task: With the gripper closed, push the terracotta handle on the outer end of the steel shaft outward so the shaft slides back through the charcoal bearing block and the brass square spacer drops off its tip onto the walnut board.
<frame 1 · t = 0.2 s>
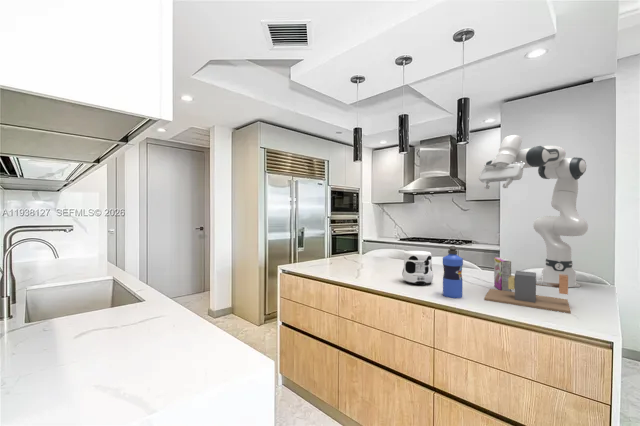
hand: (495, 188, 149), 54 cm above the table, tool tilted 30°, fingers open, 8 cm apart
water bottle: (452, 296, 153), on the table
milk container: (417, 283, 179), on the table
shaft: (533, 280, 142), point 10 cm above the table, slide at 0.0 cm, touching spacer
spacer: (511, 288, 147), point 5 cm above the table, touching shaft
bearing stand: (525, 300, 144), on the table
candy bar box: (502, 289, 164), on the table
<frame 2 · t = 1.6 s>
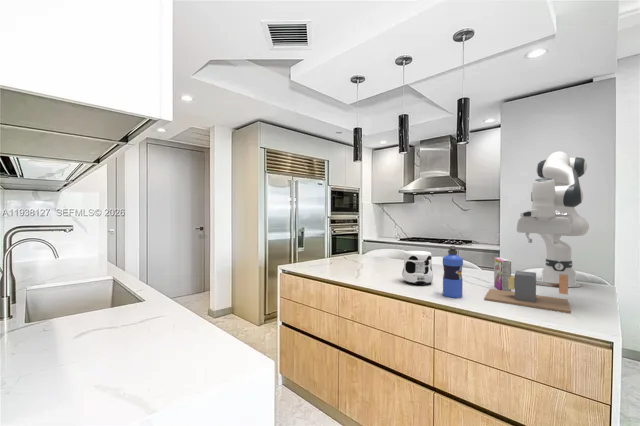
hand: (542, 243, 139), 28 cm above the table, tool pointing down, fingers open, 8 cm apart
nothing on the table moved.
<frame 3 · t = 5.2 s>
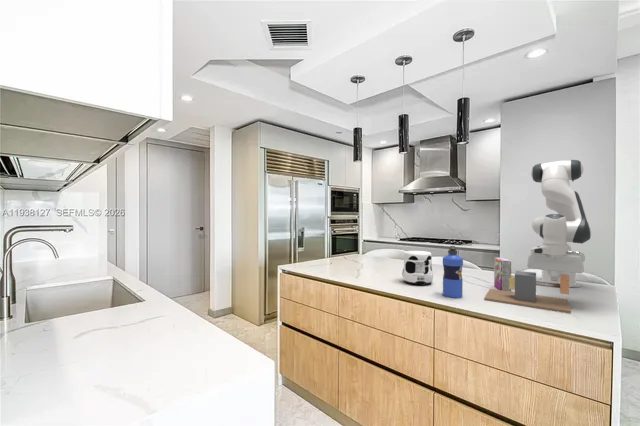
hand: (554, 280, 137), 11 cm above the table, tool pointing down, fingers closed
shaft: (534, 280, 142), point 10 cm above the table, slide at 0.4 cm, touching gripper, spacer
everything else where it was.
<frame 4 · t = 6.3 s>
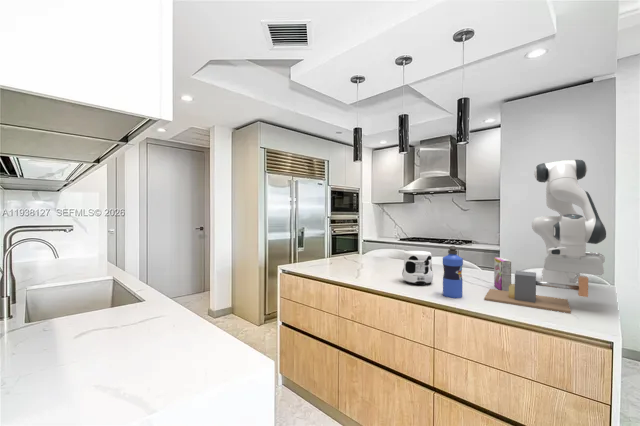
hand: (572, 282, 134), 11 cm above the table, tool pointing down, fingers closed
shaft: (551, 282, 138), point 10 cm above the table, slide at 6.7 cm, touching gripper
spacer: (511, 296, 147), point 1 cm above the table, touching bearing stand
everything else where it was.
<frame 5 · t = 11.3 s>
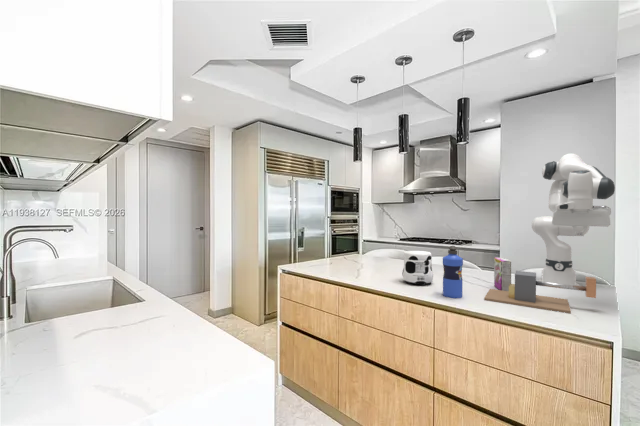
hand: (579, 235, 139), 31 cm above the table, tool pointing down, fingers closed
shaft: (558, 283, 136), point 10 cm above the table, slide at 9.1 cm
everything else where it was.
at the end: shaft slide at 9.1 cm; spacer point 1.0 cm above the table; spacer touching bearing stand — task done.
